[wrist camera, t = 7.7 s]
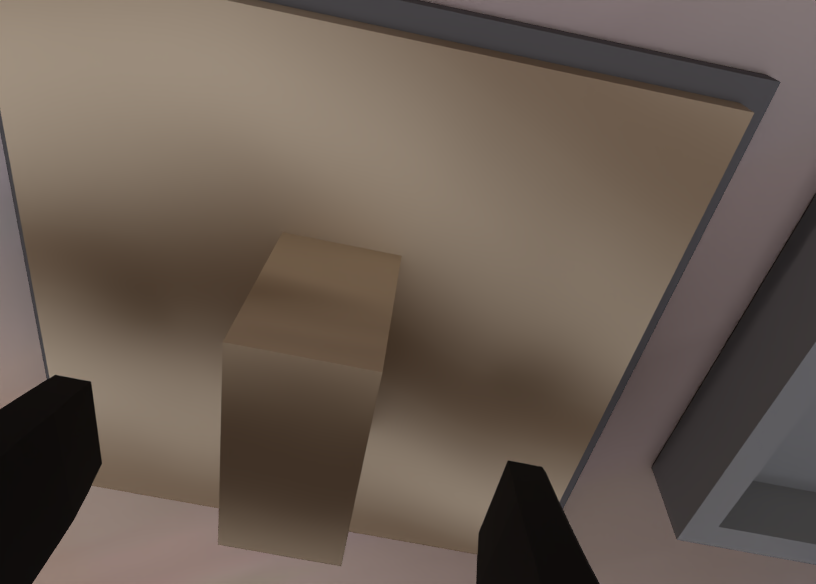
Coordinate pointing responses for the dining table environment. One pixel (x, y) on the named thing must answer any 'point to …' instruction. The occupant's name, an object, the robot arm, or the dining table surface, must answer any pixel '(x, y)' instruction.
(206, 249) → the lid
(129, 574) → the dining table surface
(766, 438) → the dish
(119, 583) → the dining table surface
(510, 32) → the mat
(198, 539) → the dining table surface
